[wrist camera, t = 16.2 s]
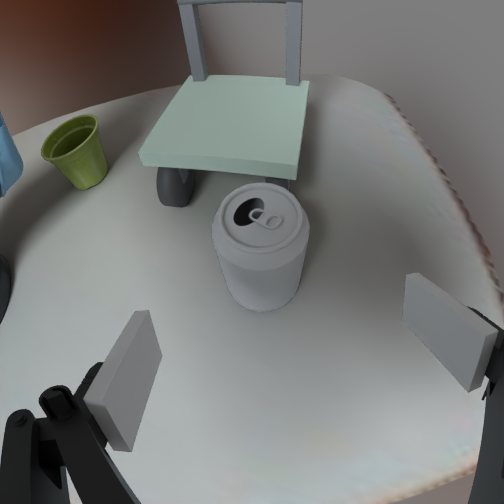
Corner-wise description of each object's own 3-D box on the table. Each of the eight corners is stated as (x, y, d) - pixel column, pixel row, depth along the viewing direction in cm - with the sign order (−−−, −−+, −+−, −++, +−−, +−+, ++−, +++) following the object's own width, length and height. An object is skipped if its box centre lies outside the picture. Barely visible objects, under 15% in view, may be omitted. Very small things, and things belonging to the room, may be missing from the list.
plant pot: (88, 151, 45) (68, 113, 38) (129, 157, 43) (110, 114, 36) (57, 193, 41) (30, 156, 33) (95, 204, 39) (68, 162, 32)
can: (256, 237, 35) (250, 161, 24) (312, 272, 33) (331, 203, 22) (213, 287, 32) (186, 223, 22) (271, 328, 30) (272, 280, 19)
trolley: (160, 216, 37) (88, 49, 17) (202, 125, 46) (176, -10, 25) (290, 234, 35) (304, 33, 15) (305, 133, 43) (314, -13, 23)
